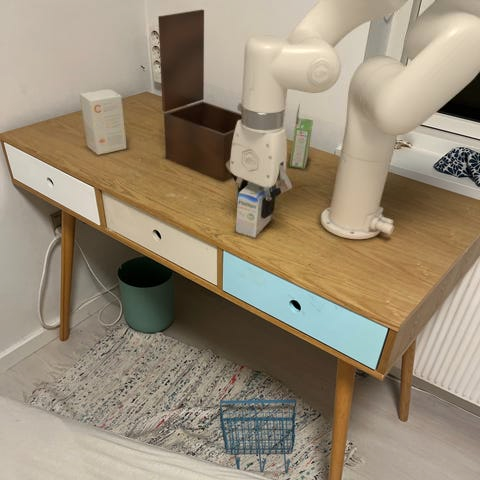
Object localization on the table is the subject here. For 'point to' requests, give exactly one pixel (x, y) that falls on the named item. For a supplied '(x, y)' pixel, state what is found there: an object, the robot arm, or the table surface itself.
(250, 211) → the medicine box
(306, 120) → the ink box
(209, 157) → the chest
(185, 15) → the chest lid
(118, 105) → the small box
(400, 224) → the table surface
